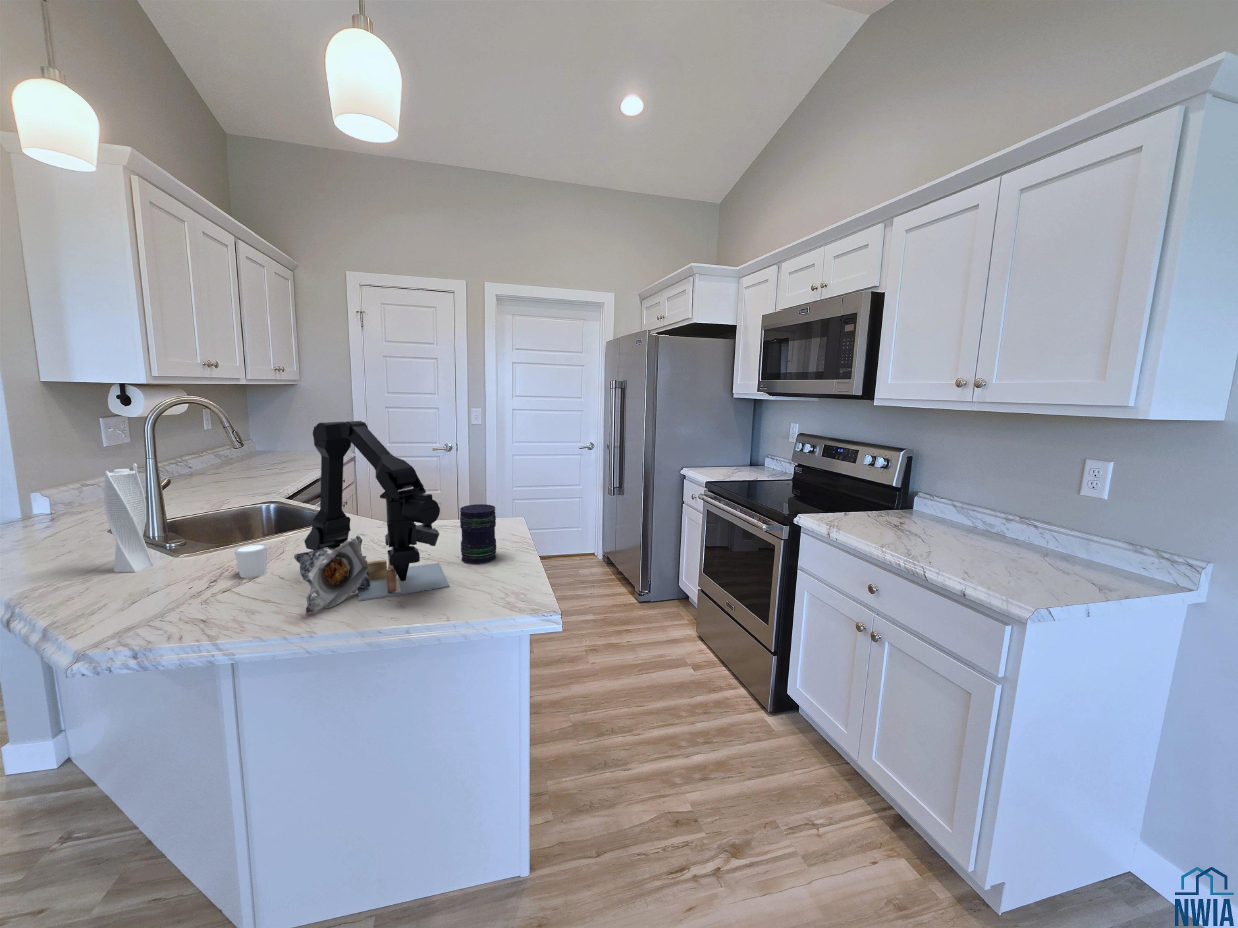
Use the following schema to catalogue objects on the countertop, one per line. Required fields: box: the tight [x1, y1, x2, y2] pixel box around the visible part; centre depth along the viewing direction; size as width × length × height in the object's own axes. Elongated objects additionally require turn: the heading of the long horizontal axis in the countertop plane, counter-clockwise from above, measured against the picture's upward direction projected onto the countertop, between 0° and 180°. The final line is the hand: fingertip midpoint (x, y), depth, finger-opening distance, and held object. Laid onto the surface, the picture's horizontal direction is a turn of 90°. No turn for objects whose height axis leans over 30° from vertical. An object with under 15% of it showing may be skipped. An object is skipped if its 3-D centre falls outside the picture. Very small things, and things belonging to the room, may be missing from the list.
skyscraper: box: [103, 463, 154, 573], centre depth 130 cm, size 8×8×28 cm
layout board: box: [357, 562, 451, 602], centre depth 127 cm, size 20×18×1 cm
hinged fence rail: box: [387, 556, 397, 592], centre depth 124 cm, size 12×2×5 cm, turn 22°
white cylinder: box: [234, 543, 268, 579], centre depth 129 cm, size 7×7×7 cm
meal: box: [293, 535, 370, 614], centre depth 114 cm, size 15×4×13 cm, turn 161°
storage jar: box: [459, 503, 497, 565], centre depth 144 cm, size 10×10×15 cm
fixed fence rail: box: [365, 559, 388, 581], centre depth 126 cm, size 6×2×5 cm, turn 118°
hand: (403, 580), depth 121 cm, fingers closed, pressing on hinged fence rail
